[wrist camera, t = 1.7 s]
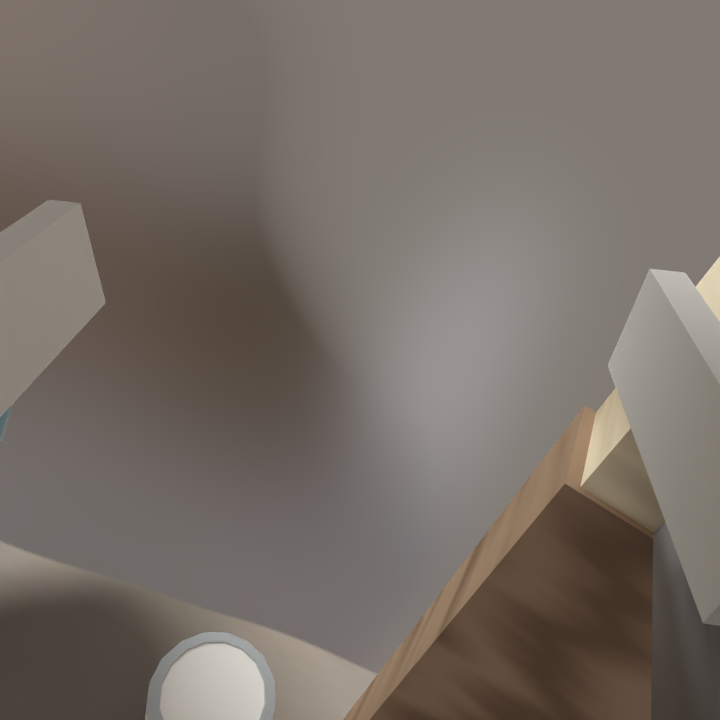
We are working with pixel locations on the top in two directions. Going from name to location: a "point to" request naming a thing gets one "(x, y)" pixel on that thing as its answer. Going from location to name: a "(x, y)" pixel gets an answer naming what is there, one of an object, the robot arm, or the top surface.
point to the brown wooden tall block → (535, 613)
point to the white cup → (212, 681)
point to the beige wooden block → (660, 562)
